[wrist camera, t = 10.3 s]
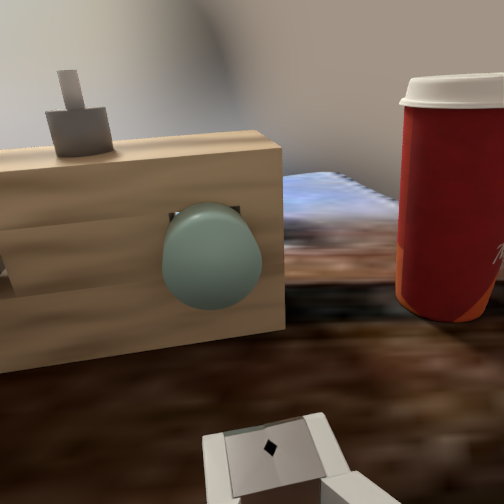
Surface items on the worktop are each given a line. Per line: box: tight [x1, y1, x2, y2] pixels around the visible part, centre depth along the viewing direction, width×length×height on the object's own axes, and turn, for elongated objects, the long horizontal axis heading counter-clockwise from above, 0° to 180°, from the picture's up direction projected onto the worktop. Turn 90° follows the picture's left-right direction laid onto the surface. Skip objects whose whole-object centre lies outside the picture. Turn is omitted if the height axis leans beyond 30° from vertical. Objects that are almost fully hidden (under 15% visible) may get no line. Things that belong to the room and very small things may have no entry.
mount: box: [0, 130, 285, 373], centre depth 25 cm, size 8×22×12 cm, turn 100°
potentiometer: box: [45, 70, 114, 158], centre depth 22 cm, size 3×3×4 cm
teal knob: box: [162, 202, 262, 310], centre depth 25 cm, size 13×5×5 cm, turn 10°
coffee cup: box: [396, 73, 504, 323], centre depth 25 cm, size 8×8×15 cm
